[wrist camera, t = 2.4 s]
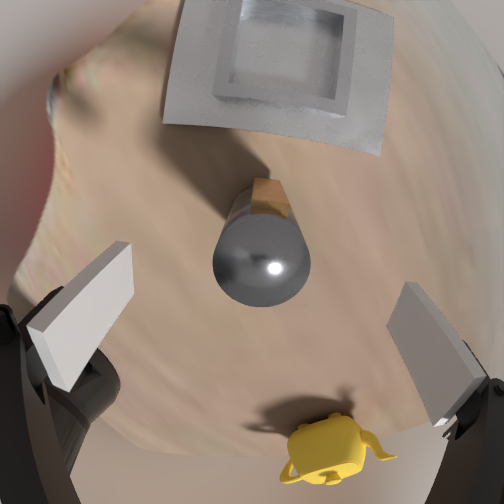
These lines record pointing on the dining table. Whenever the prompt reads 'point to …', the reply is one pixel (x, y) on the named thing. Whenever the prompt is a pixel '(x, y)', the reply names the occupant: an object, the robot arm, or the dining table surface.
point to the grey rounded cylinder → (261, 248)
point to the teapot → (329, 450)
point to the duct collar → (284, 69)
